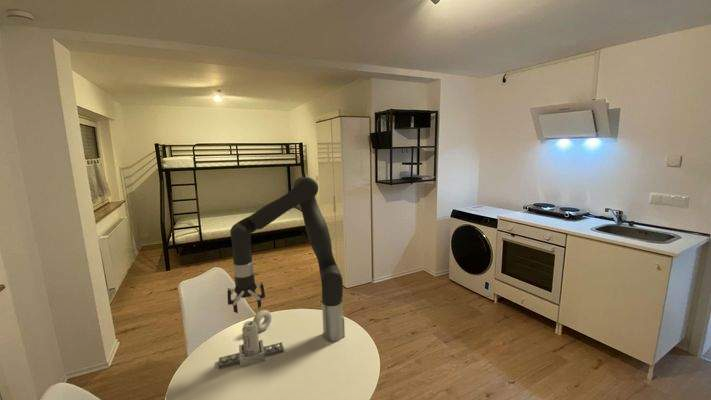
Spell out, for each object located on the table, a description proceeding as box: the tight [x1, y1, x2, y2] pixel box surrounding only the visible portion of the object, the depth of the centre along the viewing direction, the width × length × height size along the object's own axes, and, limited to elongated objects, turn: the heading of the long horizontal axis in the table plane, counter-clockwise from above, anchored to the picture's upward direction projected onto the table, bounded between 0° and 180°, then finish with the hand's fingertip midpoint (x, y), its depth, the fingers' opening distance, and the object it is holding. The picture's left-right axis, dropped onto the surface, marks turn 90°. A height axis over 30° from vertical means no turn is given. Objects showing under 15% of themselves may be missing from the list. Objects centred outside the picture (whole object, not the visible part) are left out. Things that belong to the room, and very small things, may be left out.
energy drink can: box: [241, 320, 261, 357], centre depth 128 cm, size 6×6×15 cm
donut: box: [252, 309, 272, 332], centre depth 147 cm, size 10×4×10 cm, turn 144°
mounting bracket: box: [218, 339, 285, 370], centre depth 129 cm, size 26×10×4 cm, turn 112°
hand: (247, 310), depth 126 cm, fingers open, 8 cm apart
